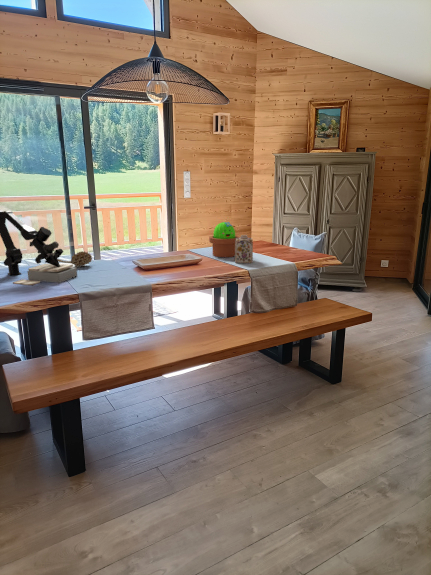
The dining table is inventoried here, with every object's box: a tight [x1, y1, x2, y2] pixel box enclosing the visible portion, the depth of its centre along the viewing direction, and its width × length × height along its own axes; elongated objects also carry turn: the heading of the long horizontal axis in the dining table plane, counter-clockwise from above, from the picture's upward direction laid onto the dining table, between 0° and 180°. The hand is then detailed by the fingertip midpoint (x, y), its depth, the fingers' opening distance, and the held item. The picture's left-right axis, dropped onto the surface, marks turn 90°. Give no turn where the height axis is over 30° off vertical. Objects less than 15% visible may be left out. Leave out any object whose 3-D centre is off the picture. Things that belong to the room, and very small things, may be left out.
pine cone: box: [57, 251, 93, 268], centre depth 270 cm, size 22×10×10 cm, turn 111°
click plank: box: [39, 263, 74, 272], centre depth 241 cm, size 13×14×1 cm
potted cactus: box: [208, 221, 241, 258], centre depth 303 cm, size 22×22×25 cm
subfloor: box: [27, 263, 78, 283], centre depth 243 cm, size 22×16×6 cm
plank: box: [12, 278, 42, 286], centre depth 233 cm, size 13×7×1 cm, turn 71°
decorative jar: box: [234, 234, 254, 264], centre depth 283 cm, size 12×12×18 cm
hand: (59, 266), depth 240 cm, fingers closed, pressing on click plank
